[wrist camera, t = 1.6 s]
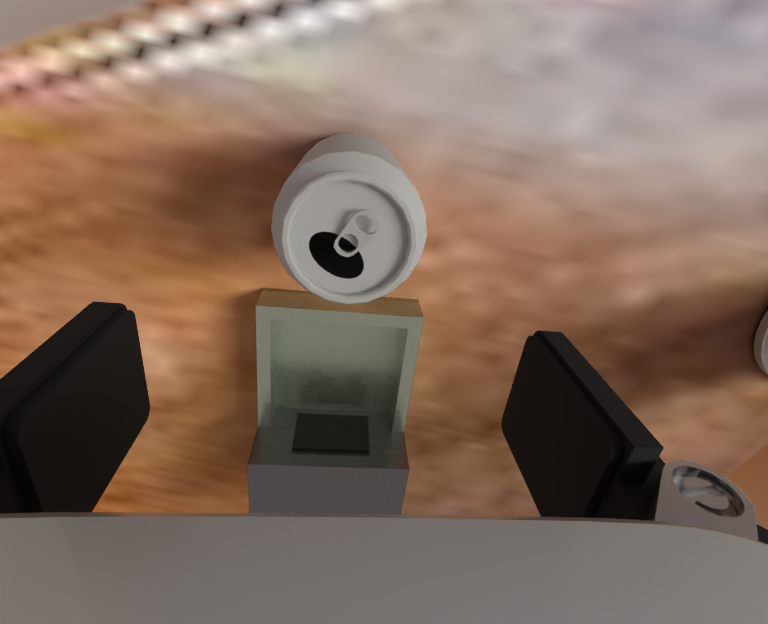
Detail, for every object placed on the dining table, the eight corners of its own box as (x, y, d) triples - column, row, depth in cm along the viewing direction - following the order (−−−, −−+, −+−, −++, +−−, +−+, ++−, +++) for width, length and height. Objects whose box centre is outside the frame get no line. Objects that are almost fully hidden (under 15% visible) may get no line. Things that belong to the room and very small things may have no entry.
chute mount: (418, 299, 34) (433, 346, 28) (389, 472, 43) (395, 537, 36) (263, 288, 33) (242, 334, 27) (265, 468, 41) (250, 535, 35)
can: (274, 197, 30) (231, 256, 19) (340, 105, 27) (333, 114, 17) (358, 261, 32) (362, 344, 22) (426, 182, 30) (467, 232, 19)
